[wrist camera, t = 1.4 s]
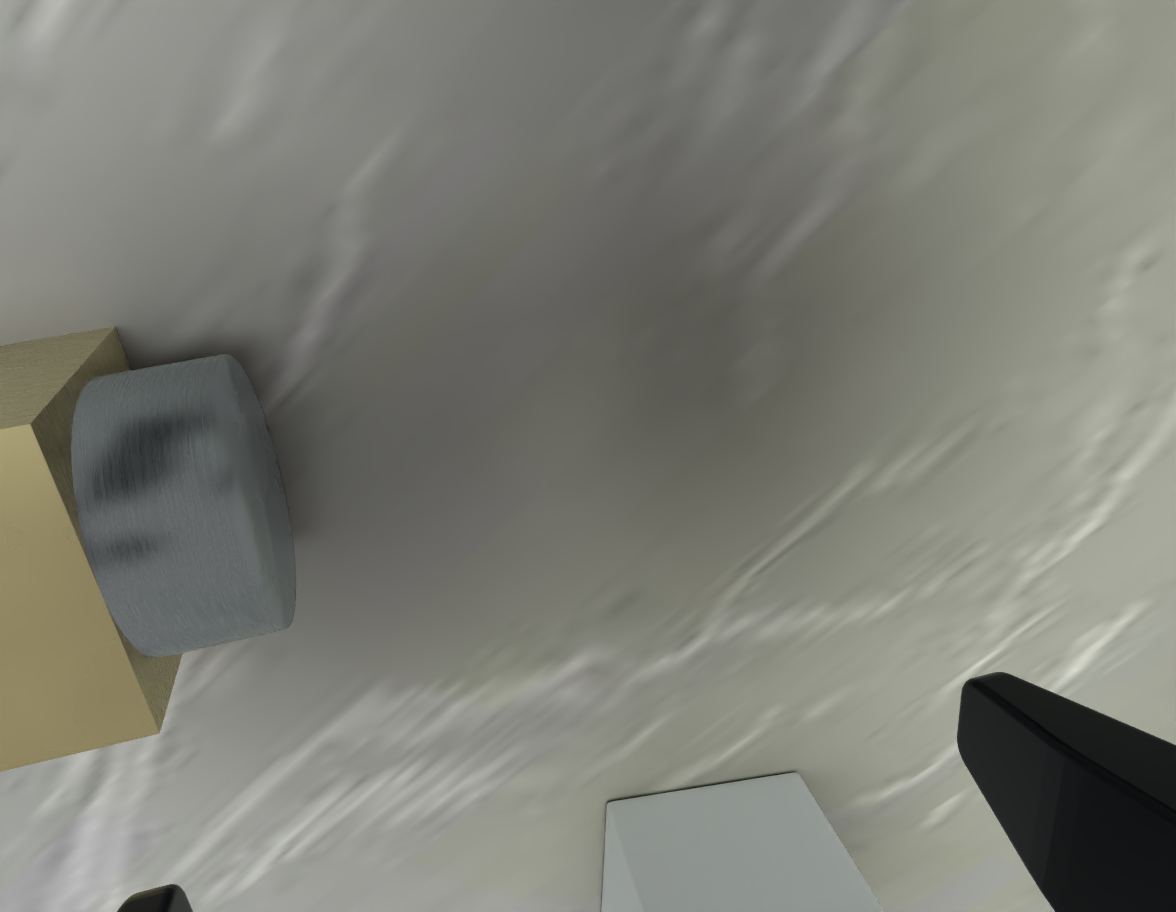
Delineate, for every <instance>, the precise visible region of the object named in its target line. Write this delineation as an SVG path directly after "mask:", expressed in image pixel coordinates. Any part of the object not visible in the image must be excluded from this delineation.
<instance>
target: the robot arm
mask: <svg viewBox="0 0 1176 912" xmlns="http://www.w3.org/2000/svg"><path fill="white" fill-rule="evenodd" d="M957 743H958V748H959V752H960V755H961V757H962V759H963V761H964V763H965V765H966V767H967V768H968V770H969V772H970V773H971V775H972V777H973V779H974V780H975V782H976V784H977V785H978V787H979V789H980V790H981V792H982V794H983V795H984V797H985V799H986V800H987V802H988V804H989V806H990V807H991V809H992V811H993V812H994V814H995V816H996V817H997V819H998V821H999V822H1000V824H1001V826H1002V827H1003V829H1004V831H1005V833H1006V834H1007V836H1008V838H1009V839H1010V841H1011V843H1012V844H1013V846H1014V848H1015V849H1016V851H1017V853H1018V855H1019V856H1020V858H1021V860H1022V861H1023V863H1024V865H1025V866H1026V868H1027V870H1028V871H1029V873H1030V874H1031V876H1032V878H1033V879H1034V881H1035V882H1036V884H1037V886H1038V887H1039V889H1040V890H1041V892H1042V893H1043V895H1044V896H1045V898H1046V899H1047V901H1048V902H1049V903H1050V905H1051V906H1052V908H1053V909H1054V911H1055V912H1176V745H1174V744H1172V743H1170V742H1167V741H1165V740H1163V739H1160V738H1158V737H1156V736H1153V735H1151V734H1149V733H1146V732H1144V731H1142V730H1139V729H1137V728H1135V727H1132V726H1130V725H1128V724H1125V723H1123V722H1121V721H1118V720H1116V719H1114V718H1111V717H1109V716H1107V715H1104V714H1102V713H1099V712H1097V711H1095V710H1092V709H1090V708H1088V707H1085V706H1083V705H1081V704H1078V703H1076V702H1074V701H1071V700H1069V699H1067V698H1064V697H1062V696H1060V695H1057V694H1055V693H1053V692H1050V691H1048V690H1046V689H1043V688H1041V687H1039V686H1036V685H1034V684H1032V683H1029V682H1027V681H1025V680H1022V679H1020V678H1018V677H1015V676H1013V675H1010V674H1008V673H1004V672H995V673H991V674H987V675H983V676H979V677H975V678H971V679H969V680H967V681H966V683H965V684H964V686H963V688H962V693H961V703H960V712H959V722H958V732H957ZM117 912H193V911H192V908H191V906H190V904H189V901H188V899H187V897H186V894H185V892H184V891H183V889H182V888H181V887H180V886H178V885H176V884H170V885H166V886H162V887H158V888H154V889H151V890H147V891H143V892H139V893H136V894H134V895H132V896H131V897H129V898H128V899H127V900H126V901H125V902H124V903H123V904H122V906H121V907H120V908H119V910H118V911H117Z"/></svg>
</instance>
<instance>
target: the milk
mask: <svg viewBox="0 0 1176 912" xmlns="http://www.w3.org/2000/svg"><path fill="white" fill-rule="evenodd" d="M601 912H884V910H883V908H882V907H881V905H880V903H879V902H878V900H877V899H876V897H875V895H874V894H873V892H872V891H871V889H870V887H869V886H868V884H867V883H866V881H865V879H864V878H863V876H862V875H861V873H860V871H859V870H858V868H857V866H856V865H855V863H854V862H853V860H852V858H851V857H850V855H849V854H848V852H847V850H846V849H845V847H844V846H843V844H842V842H841V841H840V839H839V837H838V836H837V834H836V833H835V831H834V829H833V828H832V826H831V825H830V823H829V821H828V820H827V818H826V817H825V815H824V813H823V812H822V810H821V809H820V807H819V805H818V804H817V802H816V800H815V799H814V797H813V796H812V794H811V792H810V791H809V789H808V788H807V786H806V784H805V783H804V781H803V780H802V778H801V777H800V775H799V774H798V773H795V772H794V773H787V774H781V775H775V776H768V777H762V778H756V779H750V780H743V781H737V782H731V783H724V784H718V785H712V786H706V787H699V788H693V789H687V790H681V791H674V792H668V793H662V794H656V795H649V796H643V797H637V798H631V799H624V800H618V801H612V802H609V803H608V804H607V812H606V831H605V851H604V870H603V890H602V909H601Z"/></svg>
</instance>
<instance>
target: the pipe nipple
mask: <svg viewBox="0 0 1176 912" xmlns="http://www.w3.org/2000/svg"><path fill="white" fill-rule="evenodd" d="M295 602H296V571H295V558H294V549H293V540H292V533H291V526H290V520H289V514H288V508H287V503H286V497H285V493H284V488H283V483H282V479H281V474H280V470H279V466H278V462H277V458H276V455H275V451H274V448H273V444H272V441H271V438H270V434H269V431H268V427H267V424H266V420H265V418H264V415H263V412H262V409H261V406H260V404H259V401H258V398H257V396H256V394H255V391H254V389H253V387H252V384H251V382H250V380H249V378H248V376H247V375H246V373H245V371H244V369H243V368H242V366H241V365H240V363H239V362H238V361H237V360H236V359H235V358H234V357H233V356H232V355H230V354H222V355H216V356H210V357H205V358H199V359H193V360H188V361H182V362H176V363H171V364H165V365H159V366H154V367H148V368H142V369H137V370H130V367H129V364H128V361H127V358H126V356H125V353H124V350H123V347H122V344H121V341H120V339H119V336H118V333H117V330H116V327H110V328H104V329H98V330H93V331H87V332H81V333H75V334H69V335H63V336H57V337H51V338H45V339H39V340H33V341H27V342H21V343H15V344H9V345H3V346H0V772H1V771H5V770H9V769H13V768H17V767H22V766H26V765H30V764H34V763H38V762H42V761H46V760H51V759H55V758H59V757H63V756H67V755H71V754H76V753H80V752H84V751H88V750H92V749H96V748H100V747H105V746H109V745H113V744H117V743H121V742H125V741H130V740H134V739H138V738H142V737H146V736H150V735H154V734H159V733H160V730H161V727H162V723H163V720H164V716H165V713H166V709H167V706H168V702H169V699H170V695H171V692H172V688H173V685H174V681H175V678H176V674H177V671H178V667H179V664H180V660H181V657H182V653H184V652H188V651H193V650H197V649H201V648H206V647H210V646H215V645H219V644H223V643H228V642H232V641H237V640H241V639H245V638H250V637H254V636H259V635H263V634H267V633H272V632H276V631H280V630H285V629H287V628H288V627H289V626H290V625H291V623H292V620H293V616H294V611H295Z"/></svg>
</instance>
